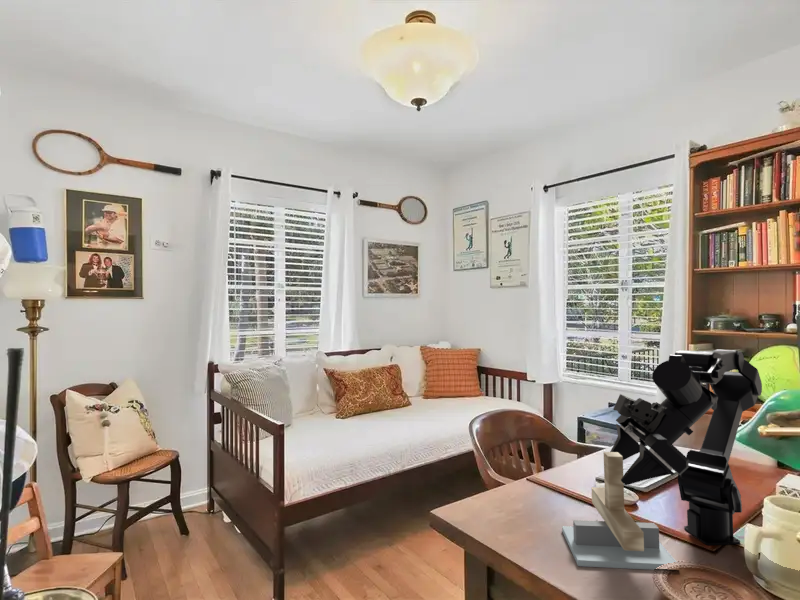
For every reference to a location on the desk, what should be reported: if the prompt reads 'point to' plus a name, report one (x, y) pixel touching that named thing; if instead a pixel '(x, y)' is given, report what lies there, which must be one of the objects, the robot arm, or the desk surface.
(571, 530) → the stand
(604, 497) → the t bar
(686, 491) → the robot arm
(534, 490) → the desk surface
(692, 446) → the desk surface
